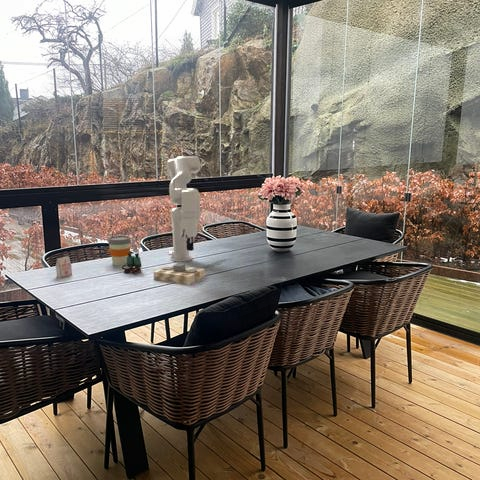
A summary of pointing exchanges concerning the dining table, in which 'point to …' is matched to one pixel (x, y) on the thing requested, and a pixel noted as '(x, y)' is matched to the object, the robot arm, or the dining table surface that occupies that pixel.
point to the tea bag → (63, 267)
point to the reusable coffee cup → (119, 249)
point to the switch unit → (179, 275)
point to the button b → (179, 267)
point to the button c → (191, 271)
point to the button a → (168, 268)
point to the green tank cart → (132, 264)
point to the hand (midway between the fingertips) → (190, 250)
